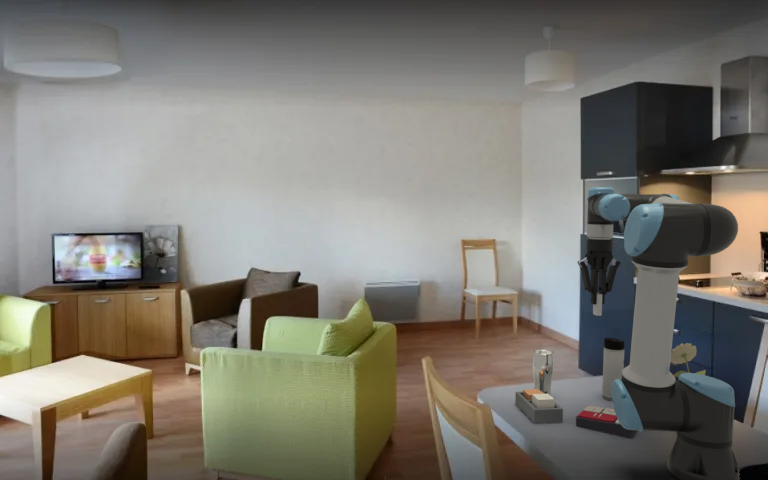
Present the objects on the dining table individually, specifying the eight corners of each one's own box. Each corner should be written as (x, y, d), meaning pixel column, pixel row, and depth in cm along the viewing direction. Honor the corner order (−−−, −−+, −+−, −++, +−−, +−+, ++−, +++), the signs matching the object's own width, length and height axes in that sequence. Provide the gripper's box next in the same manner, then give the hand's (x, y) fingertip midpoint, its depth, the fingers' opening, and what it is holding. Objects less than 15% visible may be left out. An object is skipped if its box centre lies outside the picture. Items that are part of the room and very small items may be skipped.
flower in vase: (711, 425, 174) (716, 340, 172) (722, 441, 163) (727, 350, 161) (662, 420, 177) (666, 337, 175) (669, 435, 166) (673, 346, 164)
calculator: (586, 403, 182) (639, 411, 173) (587, 418, 182) (640, 426, 173) (575, 414, 173) (630, 423, 164) (575, 429, 173) (630, 439, 164)
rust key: (544, 407, 185) (544, 394, 184) (528, 407, 184) (528, 395, 184) (538, 401, 190) (538, 389, 189) (522, 402, 189) (523, 389, 189)
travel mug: (597, 396, 198) (599, 336, 197) (612, 393, 201) (614, 334, 199) (611, 402, 192) (613, 341, 191) (626, 399, 195) (629, 339, 194)
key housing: (562, 422, 176) (562, 408, 175) (534, 423, 175) (534, 410, 174) (541, 403, 192) (541, 390, 191) (515, 404, 191) (515, 391, 190)
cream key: (554, 412, 177) (554, 399, 177) (538, 413, 177) (538, 399, 176) (547, 406, 182) (548, 393, 182) (531, 407, 181) (532, 394, 181)
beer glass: (527, 394, 200) (528, 350, 199) (545, 392, 202) (547, 348, 201) (538, 401, 193) (540, 355, 192) (557, 399, 195) (559, 353, 194)
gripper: (613, 237, 188) (611, 312, 190) (573, 237, 186) (571, 312, 188) (626, 239, 181) (623, 316, 182) (584, 239, 179) (582, 317, 181)
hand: (597, 314), depth 185 cm, fingers closed
